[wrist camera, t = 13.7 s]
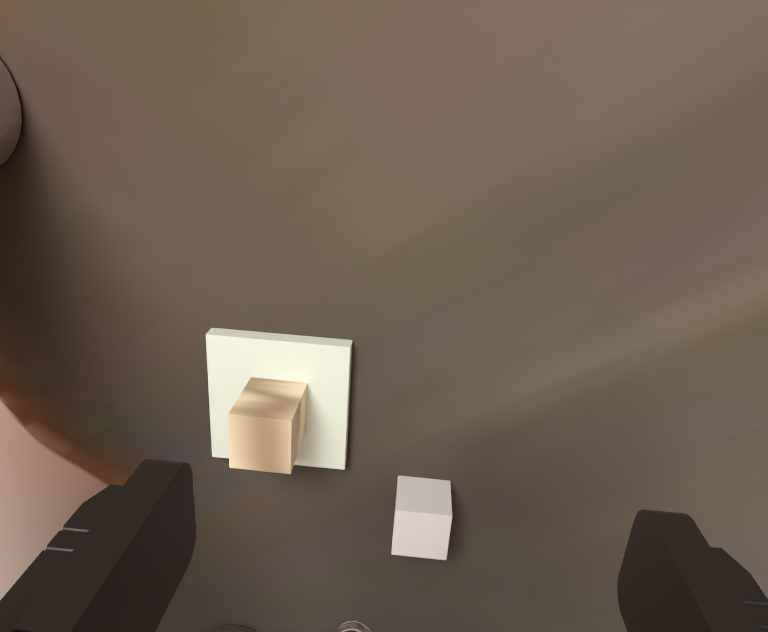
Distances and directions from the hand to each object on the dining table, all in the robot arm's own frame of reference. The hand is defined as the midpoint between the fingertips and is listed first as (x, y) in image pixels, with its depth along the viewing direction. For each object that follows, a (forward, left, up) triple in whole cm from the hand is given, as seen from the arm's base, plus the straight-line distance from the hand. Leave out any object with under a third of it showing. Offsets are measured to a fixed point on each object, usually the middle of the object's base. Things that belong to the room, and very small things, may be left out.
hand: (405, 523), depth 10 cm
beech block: (-9, -14, -27) cm, 32 cm away
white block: (+2, -22, -28) cm, 36 cm away
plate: (-9, -14, -28) cm, 33 cm away
